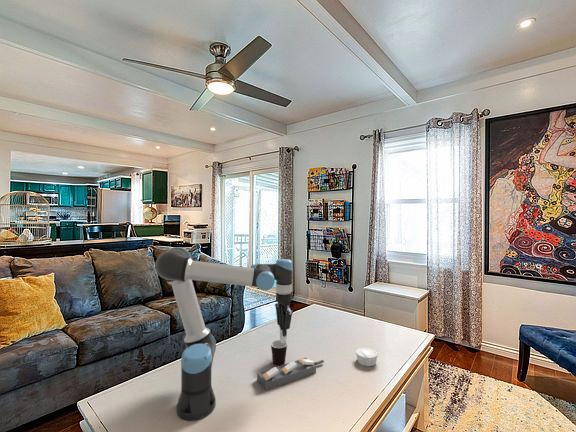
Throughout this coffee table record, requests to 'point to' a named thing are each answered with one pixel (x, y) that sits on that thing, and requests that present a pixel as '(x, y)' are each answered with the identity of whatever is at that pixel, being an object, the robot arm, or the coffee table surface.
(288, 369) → the rocker
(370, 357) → the ramekin
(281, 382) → the power strip
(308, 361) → the block
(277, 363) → the coffee mug
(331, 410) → the coffee table surface
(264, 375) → the block
